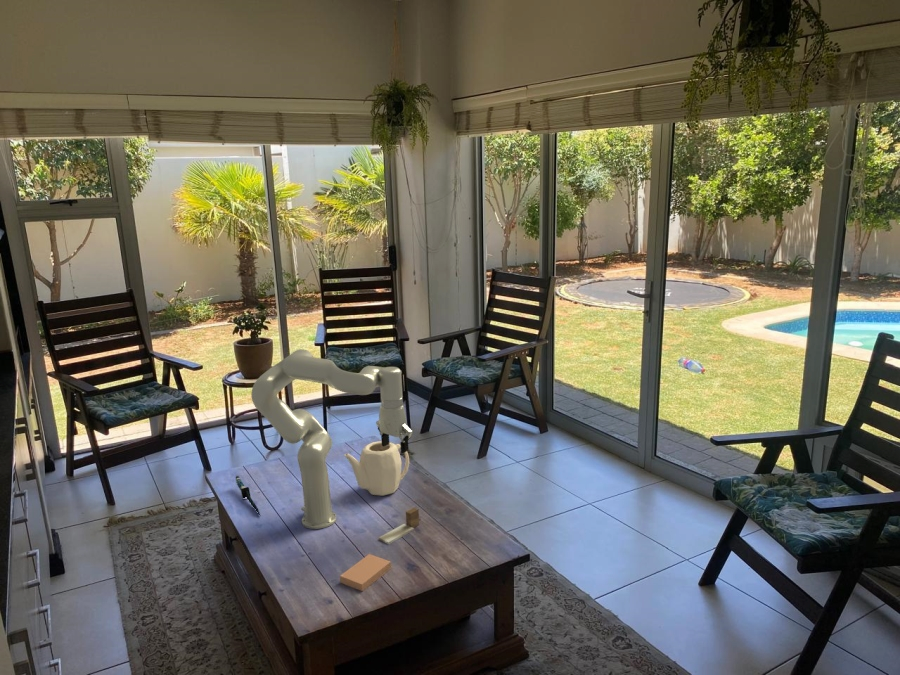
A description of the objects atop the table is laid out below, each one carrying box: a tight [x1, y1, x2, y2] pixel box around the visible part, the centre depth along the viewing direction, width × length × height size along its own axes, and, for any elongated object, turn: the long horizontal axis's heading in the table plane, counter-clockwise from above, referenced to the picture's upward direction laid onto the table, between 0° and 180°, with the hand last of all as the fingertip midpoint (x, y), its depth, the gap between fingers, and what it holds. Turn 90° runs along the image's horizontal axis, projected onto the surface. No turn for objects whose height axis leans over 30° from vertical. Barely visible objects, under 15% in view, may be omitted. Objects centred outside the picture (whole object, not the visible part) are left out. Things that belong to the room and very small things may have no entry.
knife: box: [235, 475, 261, 517], centre depth 264 cm, size 31×3×4 cm, turn 29°
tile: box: [339, 553, 392, 592], centre depth 212 cm, size 9×3×14 cm
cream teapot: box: [344, 440, 410, 497], centre depth 267 cm, size 16×27×19 cm, turn 118°
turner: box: [378, 507, 420, 545], centre depth 236 cm, size 5×16×6 cm, turn 137°
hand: (395, 448), depth 238 cm, fingers open, 9 cm apart
